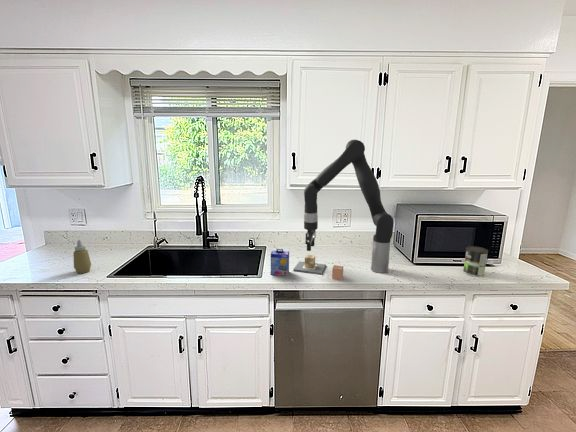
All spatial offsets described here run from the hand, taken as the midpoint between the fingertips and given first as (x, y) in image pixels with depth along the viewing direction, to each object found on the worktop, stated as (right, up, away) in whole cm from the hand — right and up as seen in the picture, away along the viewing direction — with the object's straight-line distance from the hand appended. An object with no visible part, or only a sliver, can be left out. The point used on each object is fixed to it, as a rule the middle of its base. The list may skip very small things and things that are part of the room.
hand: (310, 248), depth 176 cm
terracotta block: (+14, -15, -10) cm, 22 cm away
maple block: (0, -11, +2) cm, 11 cm away
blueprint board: (0, -12, +2) cm, 12 cm away
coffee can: (+90, -14, -3) cm, 91 cm away
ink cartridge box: (-17, -13, -5) cm, 22 cm away
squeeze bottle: (-125, -13, -4) cm, 126 cm away
